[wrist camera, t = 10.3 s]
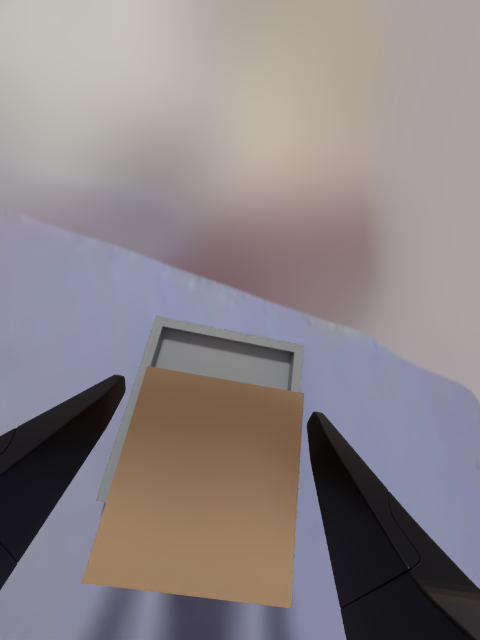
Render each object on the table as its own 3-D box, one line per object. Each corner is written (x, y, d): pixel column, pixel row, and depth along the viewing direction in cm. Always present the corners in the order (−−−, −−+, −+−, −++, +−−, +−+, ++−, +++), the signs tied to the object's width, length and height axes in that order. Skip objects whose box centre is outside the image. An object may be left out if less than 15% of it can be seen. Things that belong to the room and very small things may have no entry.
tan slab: (252, 445, 17) (348, 615, 4) (167, 431, 16) (15, 575, 4) (259, 389, 18) (348, 401, 6) (181, 375, 18) (98, 357, 5)
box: (282, 518, 16) (288, 531, 14) (107, 489, 15) (95, 500, 14) (297, 348, 20) (303, 345, 19) (160, 320, 20) (156, 315, 18)
